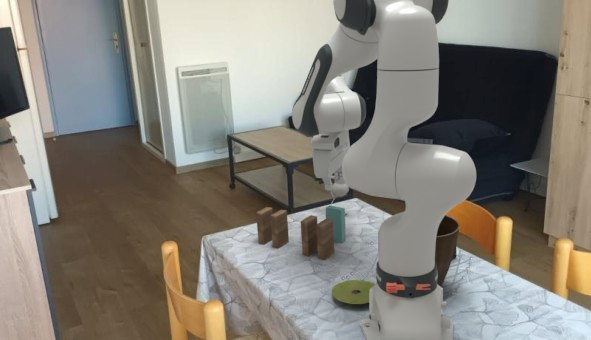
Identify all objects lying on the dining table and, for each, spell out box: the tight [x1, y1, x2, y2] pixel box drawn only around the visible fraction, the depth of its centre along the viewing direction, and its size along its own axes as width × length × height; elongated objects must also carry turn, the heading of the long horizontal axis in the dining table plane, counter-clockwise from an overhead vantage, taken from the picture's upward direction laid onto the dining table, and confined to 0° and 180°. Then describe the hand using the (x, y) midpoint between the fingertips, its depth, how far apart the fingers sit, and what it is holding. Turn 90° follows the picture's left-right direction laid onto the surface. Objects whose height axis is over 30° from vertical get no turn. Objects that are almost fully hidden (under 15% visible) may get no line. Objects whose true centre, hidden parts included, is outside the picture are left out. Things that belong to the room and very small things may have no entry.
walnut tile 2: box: [270, 209, 290, 249], centre depth 160 cm, size 2×5×10 cm, turn 145°
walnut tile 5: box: [316, 217, 335, 261], centre depth 151 cm, size 2×5×10 cm, turn 145°
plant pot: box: [435, 214, 460, 287], centre depth 132 cm, size 15×15×16 cm
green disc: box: [331, 279, 376, 305], centre depth 130 cm, size 11×11×2 cm
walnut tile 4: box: [300, 214, 318, 257], centre depth 154 cm, size 2×5×10 cm, turn 146°
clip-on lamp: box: [314, 170, 350, 216], centre depth 180 cm, size 12×6×18 cm, turn 44°
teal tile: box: [325, 204, 347, 244], centre depth 161 cm, size 2×5×10 cm, turn 55°
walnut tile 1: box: [255, 206, 274, 246], centre depth 163 cm, size 2×5×10 cm, turn 145°
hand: (334, 183), depth 158 cm, fingers open, 8 cm apart
